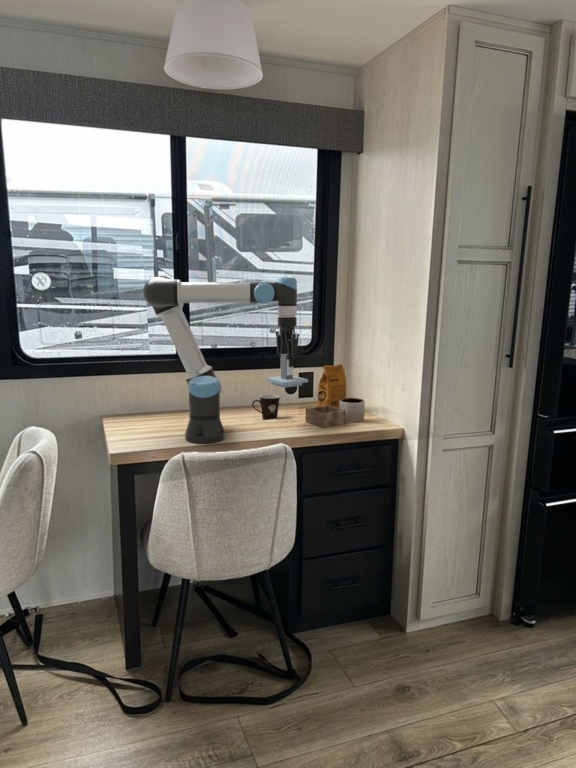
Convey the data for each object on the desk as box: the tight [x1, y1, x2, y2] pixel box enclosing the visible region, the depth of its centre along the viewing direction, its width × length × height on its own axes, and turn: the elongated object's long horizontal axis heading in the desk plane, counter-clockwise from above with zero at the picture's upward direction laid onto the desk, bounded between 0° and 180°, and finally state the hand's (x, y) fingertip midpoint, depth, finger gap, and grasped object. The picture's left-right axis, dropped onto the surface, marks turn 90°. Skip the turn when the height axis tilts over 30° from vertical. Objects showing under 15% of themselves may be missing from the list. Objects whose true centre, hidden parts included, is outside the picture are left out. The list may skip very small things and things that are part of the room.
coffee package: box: [316, 363, 347, 408], centre depth 270 cm, size 10×12×22 cm
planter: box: [339, 397, 366, 424], centre depth 253 cm, size 11×11×10 cm
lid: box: [265, 352, 309, 388], centre depth 238 cm, size 12×12×13 cm
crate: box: [305, 405, 347, 429], centre depth 246 cm, size 12×12×7 cm
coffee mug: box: [251, 393, 281, 421], centre depth 257 cm, size 12×9×10 cm
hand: (286, 374), depth 238 cm, fingers closed on lid, 3 cm apart
